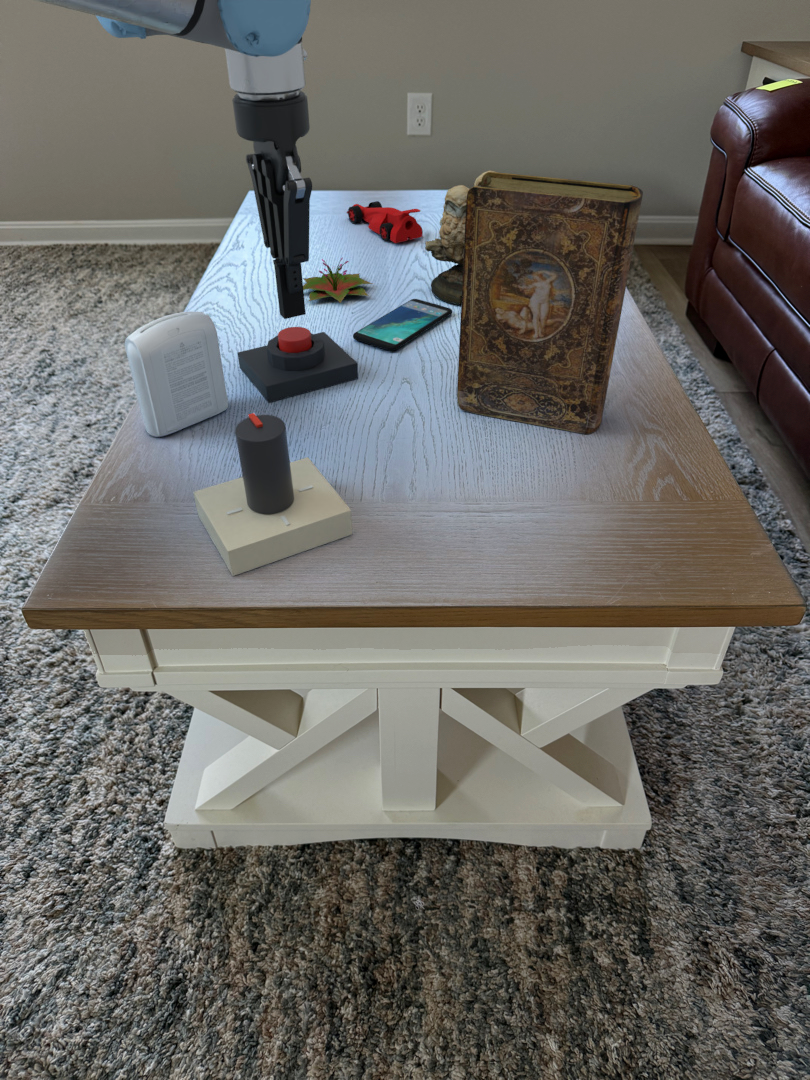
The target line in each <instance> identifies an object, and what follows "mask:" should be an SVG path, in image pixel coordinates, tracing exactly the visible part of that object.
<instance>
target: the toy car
mask: <svg viewBox="0 0 810 1080" xmlns="http://www.w3.org/2000/svg"><path fill="white" fill-rule="evenodd" d="M420 212H421V209H419V208H412V209H405V210H400V209H397V208H395V207H392V206H391V207H388V206H384V207H383V206H382V203H381V202H380V201H379V200H376V201H371V202H369V203H368V206H364V205H361V204H359V203H355V204H353V205H352V206H349V207H348V210H347V211H346V214H347V216H348V219H349V221H350V223H352V224H356V223H357V224H358V223H361V222H362V221H363V220H364V221H365V222H366V223H368V229H370V230H371V231H373V232H374V233H376V234H378V235H380V238H381V240H382V241H384V242H387V241H391V242H392V243H394V244H399V243H403V242H406V241H409V240H415V239H419V238H423V229H422V226H421V225H420V223H418V221H417V219H416V217H414V216H412V215H411V214H413V213H420Z"/></svg>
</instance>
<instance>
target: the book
mask: <svg viewBox="0 0 810 1080" xmlns="http://www.w3.org/2000/svg"><path fill="white" fill-rule="evenodd" d="M643 195H644V191H643V190H642V188H639V187H638V186H635V185H633V184H632V185H630V184H622V183H610V182H601V181H590V180H579V179H570V178H559V177H550V176H549V177H548V176H538V175H528V174H516V173H507V172H497V171H495V172H487V173H485V174H484V175H483V177H482V181H481V186H474V185H473V186H472V187H470V188H469V191H468V193H467V201H466V219H465V240H464V260H463V281H462V296H461V303H460V308H461V309H460V325H459V344H458V346H459V347H458V367H457V383H456V384H457V387H456V388H457V389H456V398H457V406H458V408H459V409H460V410H461V411H462V412H467V413H471V414H477V415H480V416H484V417H491V418H495V419H500V420H506V421H510V422H516V423H521V424H527V425H534V426H539V427H544V428H548V429H549V428H550V429H554V430H560V431H565V432H566V431H567V432H572V433H575V434H576V433H577V434H582V435H590V434H593V433H595V432H596V431H598V430H599V429H600V427H601V425H602V421H603V415H604V410H605V403H606V399H607V394H608V388H609V383H610V377H611V371H612V365H613V361H614V355H615V349H616V344H617V339H618V333H619V328H620V327H619V326H620V321H621V316H622V311H623V306H624V301H625V296H626V295H625V294H626V288H627V283H628V278H629V272H630V266H631V261H632V257H633V251H634V245H635V239H636V234H637V228H638V223H639V217H640V211H641V207H642V202H643V197H644V196H643Z"/></svg>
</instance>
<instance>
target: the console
mask: <svg viewBox="0 0 810 1080" xmlns="http://www.w3.org/2000/svg"><path fill="white" fill-rule="evenodd" d="M290 467H291V476H292V484H293V492H294V501H293V503H292V505H291V506H290V507H289V508H287V509H286V510H284V511H282V512H279V513H275V514H260V513H257V512H255V511H253V510H251V509H250V508H249V506H248V504H247V499H246V493H245V487H244V481H243V476H241V477H238V478H234V479H231V480H228V481H227V480H226V481H224V482H222V483H218V484H215V485H211V486H208V487H204V488H201V489H198V490H195V491H193V493H192V494H193V499H194V502H195V506H196V511H197V516H198V518H199V520H200V521H201V523H202V525H203V527H204V529H205V530H206V532H207V534H208V536H209V537H210V539H211V540H212V542H213V544H214V546H215V548H216V549H217V551H218V553H219V555H220V556H221V558H222V560H223V562H224V563H225V566H226V568H227V570H228V571H229V572H230V574H231V576H232V577H234V576H235V577H236V576H237V575H240V574H244V573H246V572H249V571H253V570H255V569H258V568H261V567H263V566H267V565H269V564H272V563H274V562H277V561H280V560H284V559H286V558H289V557H292V556H295V555H298V554H301V553H304V552H307V551H309V550H312V549H315V548H318V547H320V546H323V545H327V544H329V543H332V542H335V541H338V540H341V539H344V538H346V537H349V536H352V535H353V519H352V509H351V508H350V507H349V505H348V504H347V503H346V501H344V500H343V498H342V497H341V496H340V494H339V493H338V492H337V490H335V488H334V487H333V486H332V485H331V484H330V483H329V481H328V480H327V479H326V477H325V476H324V475H323V474H322V472H321V471H320V470H319V469H318V467H317V466H316V465H315V464H314V462H313V461H312V460H311V459H310V458H309V457H308V456H307V457H305V458H301V459H298V460H294V461H290Z"/></svg>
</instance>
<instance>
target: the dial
mask: <svg viewBox="0 0 810 1080" xmlns="http://www.w3.org/2000/svg"><path fill="white" fill-rule="evenodd" d="M286 427H287V426H286V423H285V421H284V420H283V419H281V418H280V417H277V416H274V415H270V414H258V415H256V413H255V412H252V413H248V417H246V418H244V419H242V420H241V421H240V422H238V423H237V424H236V426H235V429H234V434H235V438H236V439H235V440H236V446H237V451H238V455H239V456H238V458H239V463H240V464H239V465H240V469H241V475H242V477H243V481H244V487H245V493H246V499H247V504H248V506H249V508H250V509H251V510H253V511H255V512H257V513H260V514H275V513H279V512H282V511H284V510H286V509H287V508H289V507H290V506H291V505H292V503H293V501H294V492H293V484H292V476H291V467H290V462H291V460H290V459H291V458H290V451H289V444H288V435H287V428H286Z"/></svg>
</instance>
